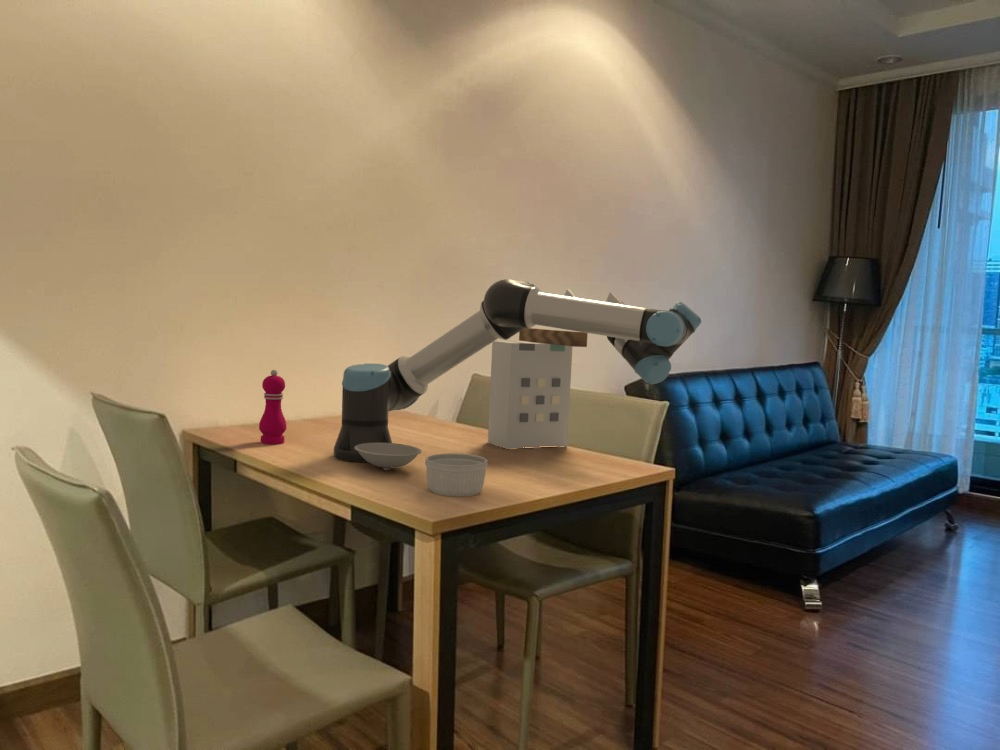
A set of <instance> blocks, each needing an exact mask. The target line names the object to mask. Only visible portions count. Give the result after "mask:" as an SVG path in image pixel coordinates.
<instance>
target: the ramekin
mask: <svg viewBox="0 0 1000 750" xmlns="http://www.w3.org/2000/svg"><path fill="white" fill-rule="evenodd" d="M424 464H425V467H426V482H427V486H428V489H429V490H430V492H432V493H434V494H436V495H438V496H439V495H440V496H443V497H444V496H447V497H459V498H460V497H472V496H475V495H478V494H479V493H480V492H481V491H482V490H483V488H484V483H485V478H486V469H487V467H488V459H486V458H485V457H483V456H480V455H476V454H475V455H474V454H469V453H459V452H458V453H457V452H456V453H455V452H454V453H453V452H451V453H448V452H447V453H436V454H431V455H428V456H426V457H425V462H424Z"/></svg>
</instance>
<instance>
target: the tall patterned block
mask: <svg viewBox="0 0 1000 750" xmlns="http://www.w3.org/2000/svg"><path fill="white" fill-rule="evenodd" d="M572 363H573V346H564V345H555V344H546V343H537V342H527V341H514V340H512V341H510V340H509V341H507V340H495V341H493V342H492V343H491V365H490V367H491V368H490V370H491V371H490V384H489V385H490V388H489V390H490V391H489V410H488V411H489V412H488V427H487V431H488V432H487V443H488V442H489V443H488V444H490V443H491V444H490V445H493V444H494V445H493V446H496V445H497V446H496V447H498V446H500V447H499V448H501V447H503V448H506V449H510V448H523V447H524V448H525V447H540V446H564V447H563V448H567V447H568V436H569V435H568V434H569V417H570V400H571V399H570V398H571V382H572V381H571V380H572V377H571V376H572ZM503 448H502V449H503ZM506 449H505V450H506ZM510 450H511V449H510Z"/></svg>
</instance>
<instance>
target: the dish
mask: <svg viewBox="0 0 1000 750" xmlns="http://www.w3.org/2000/svg"><path fill="white" fill-rule="evenodd" d="M354 448H355V450H357V451H358V452H359V454H360V455H361V456H362V457H363V458H364V459H365V460H366V461H367V462H366V463H369V464H371V465H373V466H375V467H380V468H381V467H382V469H383V470H384V471H390V470H392V468H399V467H404V466H406V465H408V464H410V463H411V462H413V460H414V459H416V458H417V457H418V456H419V455H420V454H422V449H420V448H419V447H417V446H413V445H410V444H409V445H408V444H403V443H394V442H392V443H363V444H359V445H356V446H355V447H354Z"/></svg>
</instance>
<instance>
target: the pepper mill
mask: <svg viewBox="0 0 1000 750" xmlns="http://www.w3.org/2000/svg"><path fill="white" fill-rule="evenodd" d="M261 384H262V385H261V387H262V389H263V390H264V393H263V396H264V397H263V399H265V406H264V411H263V413H262V416H261V418H260V421H259V424H258V429H259V431H260V433H261V434H262V435H260V443H261V444H263V445H282V444H284V443H285V435H283V434H284V433H285V431H286V430H287V421H286V418H285V415H284V414H283V411H282V400H283V399H284V396H283V395H284V393H283V391H284V390H285V388H286V382H285V379H284V378H283V377H282V376H280V375H278V370H276V369H272V370H271V371H270V375H268V376H266V377H265V378H264V379H263V380H262V383H261Z"/></svg>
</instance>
